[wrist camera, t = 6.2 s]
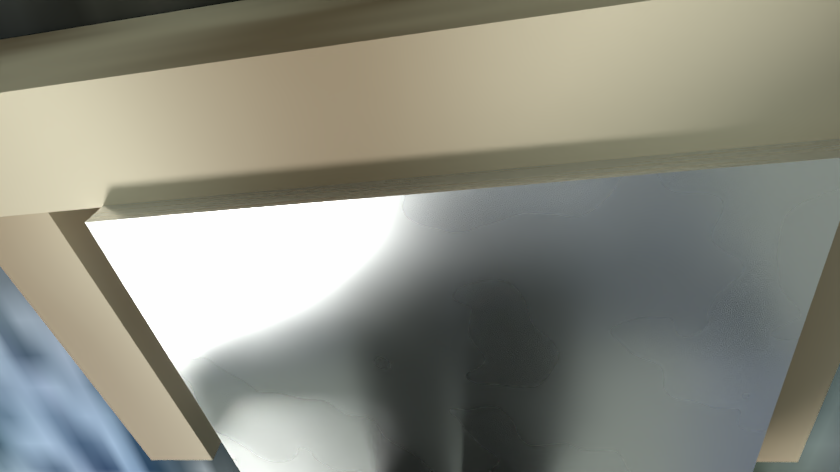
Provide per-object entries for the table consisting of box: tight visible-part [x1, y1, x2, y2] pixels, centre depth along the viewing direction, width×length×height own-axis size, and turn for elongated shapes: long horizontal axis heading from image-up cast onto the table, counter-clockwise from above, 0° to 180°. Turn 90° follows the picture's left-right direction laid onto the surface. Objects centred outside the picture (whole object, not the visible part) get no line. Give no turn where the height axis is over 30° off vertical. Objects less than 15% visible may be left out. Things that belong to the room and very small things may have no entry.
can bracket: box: [0, 0, 840, 462], centre depth 9 cm, size 20×8×4 cm, turn 99°
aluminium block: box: [85, 139, 840, 472], centre depth 9 cm, size 8×6×4 cm
